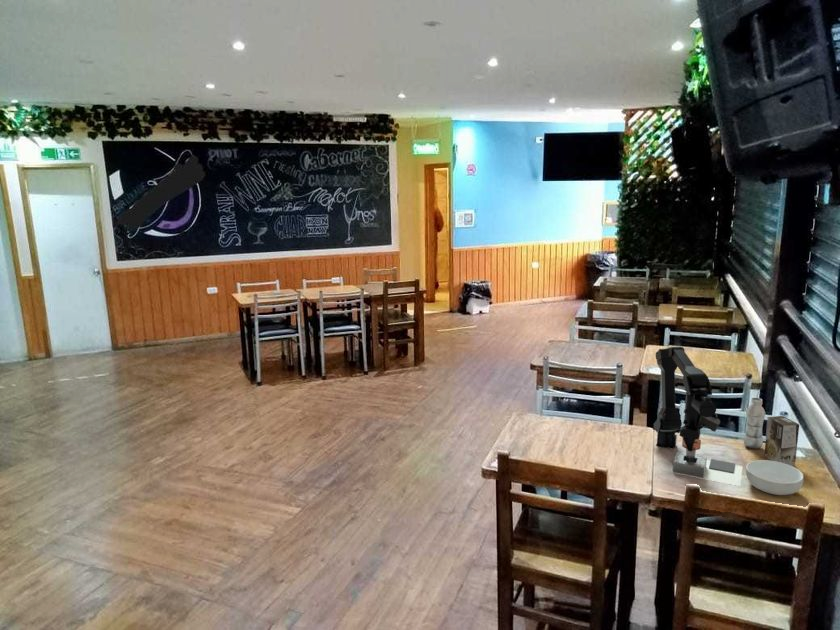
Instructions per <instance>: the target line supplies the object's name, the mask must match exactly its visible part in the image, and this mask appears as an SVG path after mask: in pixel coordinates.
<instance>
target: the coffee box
mask: <svg viewBox="0 0 840 630" xmlns="http://www.w3.org/2000/svg"><path fill="white" fill-rule="evenodd" d="M766 419H767V420H766V430H765V431H766V432H765V446H764V457H766V458H767V459H768V460H769V461H776V462H781V463H784V464H788V465H790V466H793V467H795V466H796V457H797V450H798V449H797V448H798V440H799V430H800V423H797V422H795V421H794V420H792V419H789V418H788V417H786V416H783V415H780V416H779V415H775V416H767V418H766Z"/></svg>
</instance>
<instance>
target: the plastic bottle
mask: <svg viewBox="0 0 840 630" xmlns="http://www.w3.org/2000/svg"><path fill="white" fill-rule="evenodd" d="M762 405H763V399H762V398H760V397H751V399H750V405H749V406H748V407H746V411H745V416H746V428H745V434H744V436H743V443H744V445H745V447H746V448H749V449H755V450H757V449H761V448H762V447H763V443H764V437H763V427H764V426H763V425H764V420H765V416H766V411H765V409H764V407H763V406H762Z"/></svg>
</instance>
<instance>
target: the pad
mask: <svg viewBox="0 0 840 630" xmlns="http://www.w3.org/2000/svg"><path fill="white" fill-rule="evenodd" d="M710 460H711V462H710V466H709V469H714V470H719V471H724V472H729V473H734V468H735V465H736V463H735V462H729V461H724V460H718V459H713V458H711V459H710Z"/></svg>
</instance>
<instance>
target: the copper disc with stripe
mask: <svg viewBox="0 0 840 630" xmlns="http://www.w3.org/2000/svg"><path fill="white" fill-rule="evenodd" d="M681 441H682V443H681V444H682V445H681V446H682V447H683V449H686V451H685V453H686V461H689V462H694V463H695V455H696V451H699V450H700V449H701V446H702V441H701V439H700V438H699V439H696V440H695V442H694V445H693V448H692V451H688V449H687V446H686V444H685V442H684V439H683V438H682V440H681Z"/></svg>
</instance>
